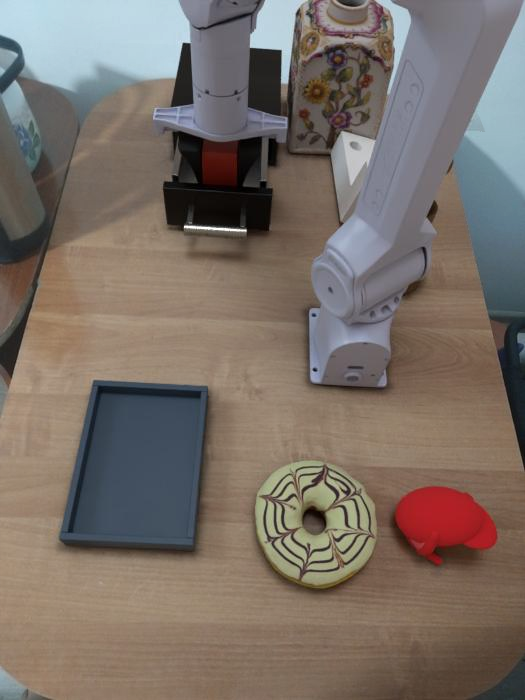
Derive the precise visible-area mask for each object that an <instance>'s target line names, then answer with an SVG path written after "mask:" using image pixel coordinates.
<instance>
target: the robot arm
mask: <svg viewBox="0 0 525 700" xmlns="http://www.w3.org/2000/svg"><path fill="white" fill-rule="evenodd" d="M390 1H391V3H392V4H394V5H396V6H399V7H401V8H403V9H405V10H407V12H408V14H409V17H410V25H409V28H408V31H407V34H406V38H405V41H404V45H403V48H402V50H401V53H400V57H399V61H398V64H397V67H396V71H395V74H394V78H393V82H392V84H391V88H390V91H389V94H388V98H387V101H386V104H385V107H384V110H383V113H382V117H381V120H380V123H379V127H378V131H377V134H376V138H375V140H376V141H375V144H374V148H373V151H372V154H371V158H370V161H369V164H368V168H367V171H366V174H365V178H364V181H363V184H362V188H361V191H360V194H359V198H358V201H357V204H356V208H355V211H354V213H353V214H352V216H351V217H350V218H349V219H348V220H347V221H346V222H345V223H344V222H343V224H342V225H341V226H340V227H338V229H337V230H336V231H335V232H334V233H333V234H332V235H331V236H330V237H329V238H328V240H326V243H325V246H324V250H323V252H322V253H321V254H320V255H318V256H316V257H315V259H314V260H313V261H312V265H311V273H310V276H311V277H310V280H311V285H312V289H313V291H314V294H315V296H316V299H317V300H318V301H319V303H320V307H311V308H310V309H309V312H308V330H309V331H308V332H309V333H308V334H309V336H308V338H309V340H308V341H309V381H310V382H311V383H312V384H314V385H328V386H330V385H331V386H346V387H348V386H349V387H364V388H365V387H366V388H382V389H383V388H385V387H386V386H387V383H388V381H387V380H388V379H387V369H386V368H387V366H388V364H389V362H390V360H391V356H392V348H391V347H392V346H391V327H392V323H393V320H394V317H395V315H396V312H397V311H398V308H399V305H400V303H401V301H402V298H403V296H404V295H403V293H404V292H406V290H407V288H408V286H409V284H411V283H413V282H415V281H419V280H420V281H421V280H423V279H424V278H425V277H426V276H427V275H428V274H429V272H430V270H431V267H432V248H433V243H434V241H435V239H436V237H437V234H438V233H437V230H436V229H435V228H434V226H433V223H432V224H431V223H430V221H429V220H428V219H427V218H426V217H427V214H428V212H429V210H430V208H431V206H432V203H433V201H434V200H435V199H436V198H437V195H438V193H439V191H440V189H441V186H442V184H443V181H444V179H445V177H446V175H447V174H446V173H447V171H448V169H449V166H450V164H451V162H452V160H453V161H454V159H455V156H456V153H457V152H458V149H459V147H460V145H461V143H462V141H463V138H464V136H465V133H466V132H467V129H468V127H469V125H470V123H471V121H472V118H473V116H474V114H475V111H476V110H477V107H478V105H479V103H480V101H481V100H482V97H483V94H484V92H485V90H486V88H487V86H488V83H489V81H490V79H491V77H492V75H493V73H494V70H495V68H496V66H497V64H498V61H499V60H500V58H501V56H502V53H503V51H504V49H505V47H506V45H507V42H508V40H509V38H510V36H511V33H512V31H513V29H514V26H515V25H516V23H517V20H518V19H519V16H520V13H521V10H522V8H523V4H524V1H525V0H390ZM265 2H266V0H178V4H179V7H180V9H181V11H182V13H183V14H184V16H185V18H186V19H187V21H188V23H189V43H191V62H192V81H193V100H194V104H192V105H186V106H179V107H172V108H170V107H155V108H154V111H153V116H152V124H153V132H154V133H153V134H154V135H164V134H165V133H166V132H172V131H174V132H178V149H179V152H180V154H181V155H182V156H183V157H184V158H185V159H186V160H187V162H188V163H189V165H190V166H191V168H192V170H193V172H194V174H195V177H196V179H197V182H198V183H201V184H203V173H202V145H203V138H204V139H207V140H211V141H216V142H228V141H234V140H240V141H239V165H238V176H237V186H243V184H244V181H245V178H246V176H247V174H248V172H249V170H250V168H251V167H252V165H253V164H254V163H255V161H256V160H257V159H258V158H259V156H260V153H261V143H262V138H276V142H278V144H280V143H282V144H286V142H287V137H288V130H287V116H281V115H280V116H275V115H271V114H268V113H264V112H261V111H258V110H254V109H251V108H248V83H249V55H250V48H251V35H252V34H253V32H255V30H256V29H257V24H258V23H257V21H258V15H259V12H260V11H261V10H262V8H263V7H264V4H265ZM314 370H316V371H314Z"/></svg>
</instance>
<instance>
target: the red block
mask: <svg viewBox="0 0 525 700" xmlns="http://www.w3.org/2000/svg"><path fill="white" fill-rule="evenodd" d="M238 165H239V140H234V141H228V142H216V141H211V140H207V139H204V138H203V145H202V173H203V184H216V185H231V186H237V176H238Z"/></svg>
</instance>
